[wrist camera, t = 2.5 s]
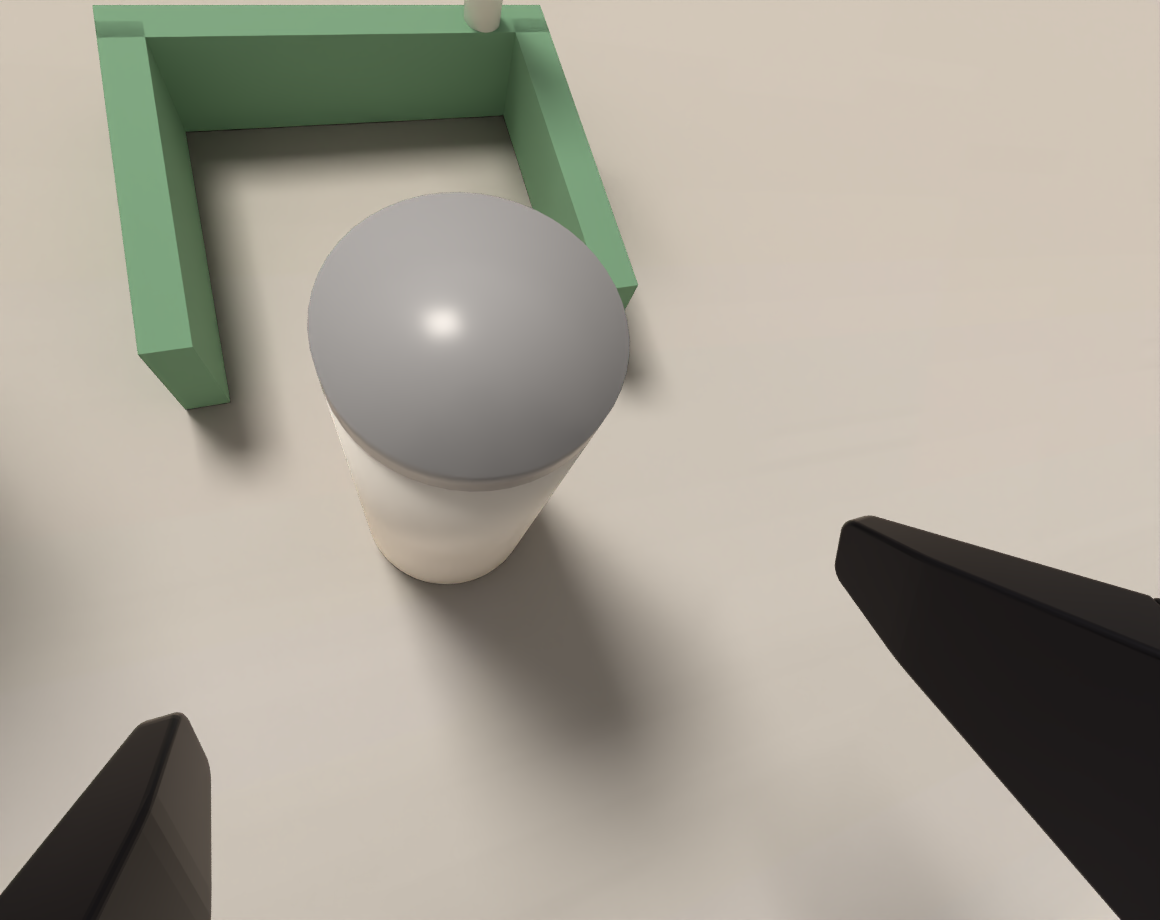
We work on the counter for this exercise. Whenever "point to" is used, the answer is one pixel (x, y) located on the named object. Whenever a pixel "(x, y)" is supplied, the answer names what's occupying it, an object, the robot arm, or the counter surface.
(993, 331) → the counter surface
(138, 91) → the green u-shaped bracket
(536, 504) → the ball tube
